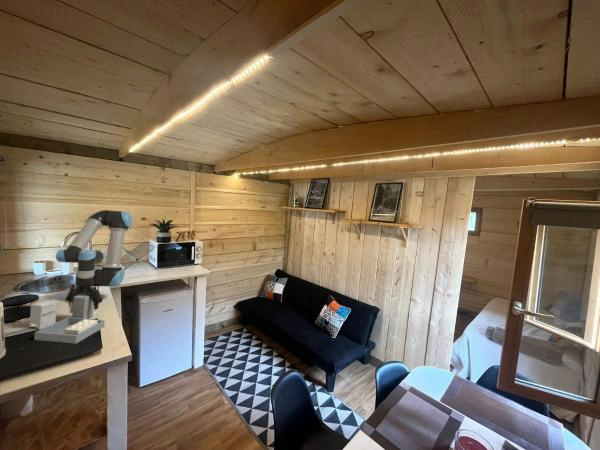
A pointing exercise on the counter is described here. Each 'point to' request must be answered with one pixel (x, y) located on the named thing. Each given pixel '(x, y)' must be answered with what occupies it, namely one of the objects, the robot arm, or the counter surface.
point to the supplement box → (43, 313)
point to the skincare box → (82, 306)
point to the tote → (57, 334)
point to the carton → (80, 326)
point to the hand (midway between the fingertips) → (83, 313)
